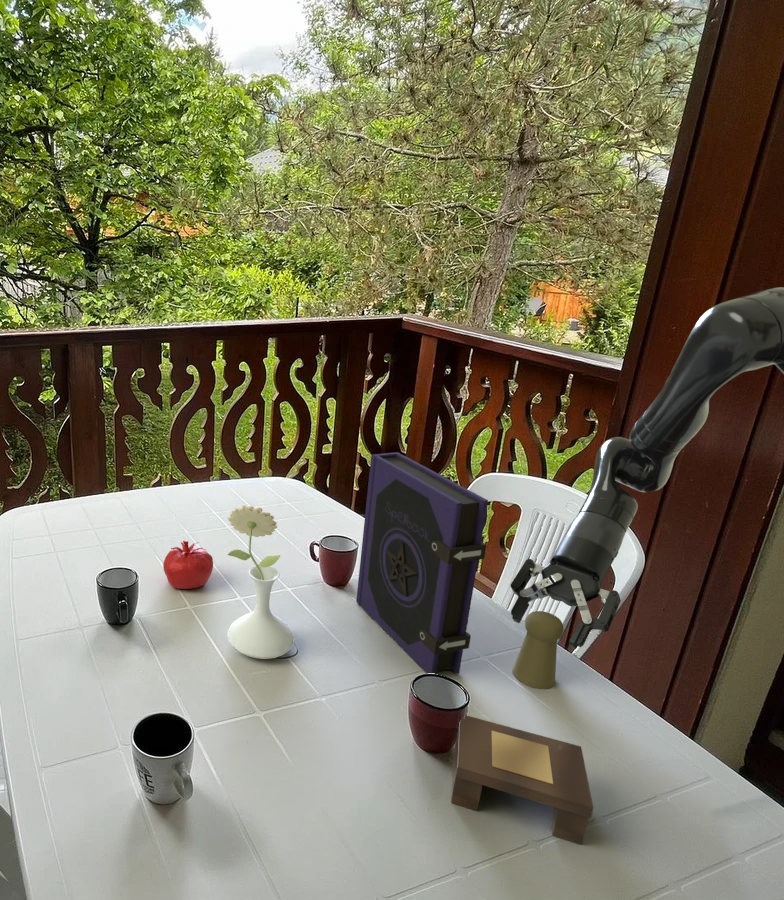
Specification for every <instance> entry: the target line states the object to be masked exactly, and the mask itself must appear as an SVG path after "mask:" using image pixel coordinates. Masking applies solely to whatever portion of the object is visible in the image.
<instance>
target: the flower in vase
mask: <svg viewBox="0 0 784 900" xmlns="http://www.w3.org/2000/svg"><path fill="white" fill-rule="evenodd" d="M274 519H275V516H274V515H271V513H270V512H269V511H266V512H264V511H263V508H262V507H260V506H259V507H257V508H255V507H254V506H251V505H250V506H248V507H247V505H242V506H241V507H240V508H238V507H235V508H234V510H231V513H230V514H229V516H228V517H227V521H229V522H230V523H229V524H230V526H232V528H233V530H235V531H238V532H239V533H240V534H245V535H246V536H248V537H249V540H248V552H245V551H244V550H242V549H233V550H231V551H230V552H228V553H227V556H230V557H234V558H237V559H238V560H241V561H247V560H249V559H250V558H251V560H252V562H253V564H254V565H255V566H254V567H252V568H250V569H249V570H248V575H249V577H250V578H251V580H252V581H253V584H254V589H255V606H254V609H253V610H252V611H251V612H248V613H246V614H243V615H242V616H240V617H238V618H237V619H236V620H234V621H233V622H232V623H231V625H230V626H229V628H228V630H227V633H226V634H227V636H226V637H227V640H228V642H229V643H230V645H231V647H233V648H234V650H236V651H237V652H238V653H240V654H242V655H244V656H247V657H250V658H254V659H261V660H269V659H275V658H279V657H282V656H284V655H286V654H288V652H289V651H290V650H291V649H292V648H293V647H294V644H295V641H296V639H295V634H294V632H293V629H292V628H291V627H290V625H289V624H288V623H287V622H285V621H284V620H283V619H281V618H280V617H278V616H277V615H275V614H274V613H273V612H272V611H271V609H270V598H271V592H272V588H273V585H274V583H275V582H276V580H277V579H279V577H280V572H279V571H278V569H276V568H274V567H272V565H275V564H276V562H278V561H279V559H280V558H281V556H282V554H276V555H267V556H265V557H264V558H263V559H261V561H259V563H258V562H257V561H256V560H255V558H254V556H253V554H252V550H251V549H252V537H255V538H259V537H265V536H271V535H273V532H275V529H277V528H278V526H277V524H278V523H277V522H276V521H275V520H274Z"/></svg>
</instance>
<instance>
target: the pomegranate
mask: <svg viewBox="0 0 784 900" xmlns="http://www.w3.org/2000/svg"><path fill="white" fill-rule="evenodd" d="M189 543H190V541H189V540H187V539H183V540H182V541H180V545H181V547H179V546H175V547H170V549H171V550H170V551H169V552H168V553H167V554H166V556H165V558H164V560H163V565H162V567H163V572H164V574H165V576H166V579H167V583H169V585H170V586H171V587H173V588H175V589H179V590H181V589H182V590H189V589H190V590H191V589H197V588H200V587H203V586H205V585H206V583H208V581H209V579H210V578H211V576H212V573H213V570H214V569H213V568H214V559H213V556H212V555H211V554H210V553H209V552H208V551H207V549H205V548H203V547H195V546H196V545H197V544H200V542H199V541H198V542H194V543H192V544H191V545H190V546H189Z"/></svg>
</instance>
